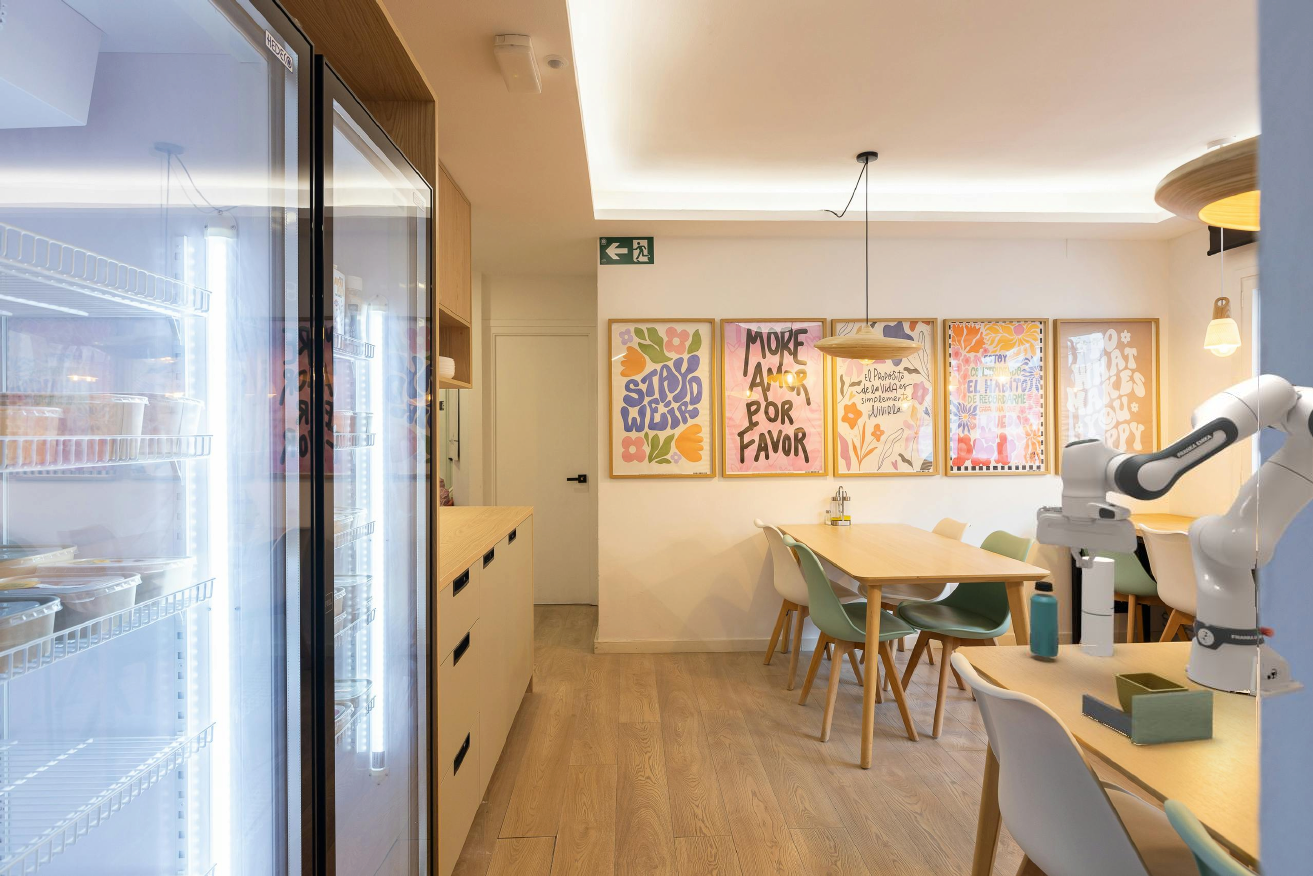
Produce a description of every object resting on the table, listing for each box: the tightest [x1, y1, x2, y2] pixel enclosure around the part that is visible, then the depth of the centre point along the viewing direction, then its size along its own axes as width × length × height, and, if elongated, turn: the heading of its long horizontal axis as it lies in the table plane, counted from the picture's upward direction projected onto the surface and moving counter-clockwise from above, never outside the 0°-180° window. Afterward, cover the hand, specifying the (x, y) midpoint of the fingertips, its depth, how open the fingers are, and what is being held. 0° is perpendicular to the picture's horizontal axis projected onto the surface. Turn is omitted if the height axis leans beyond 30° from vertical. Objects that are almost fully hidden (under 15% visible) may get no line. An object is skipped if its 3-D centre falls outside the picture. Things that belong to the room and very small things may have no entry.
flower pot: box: [1115, 671, 1190, 715], centre depth 135 cm, size 9×9×9 cm
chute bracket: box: [1081, 689, 1214, 745], centre depth 134 cm, size 17×14×9 cm
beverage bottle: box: [1029, 580, 1060, 658], centre depth 174 cm, size 6×7×20 cm
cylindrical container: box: [1080, 556, 1115, 658], centre depth 179 cm, size 7×7×25 cm
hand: (1084, 567), depth 157 cm, fingers closed
